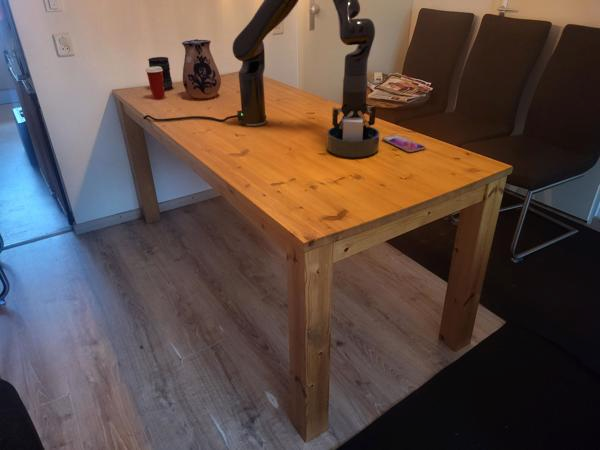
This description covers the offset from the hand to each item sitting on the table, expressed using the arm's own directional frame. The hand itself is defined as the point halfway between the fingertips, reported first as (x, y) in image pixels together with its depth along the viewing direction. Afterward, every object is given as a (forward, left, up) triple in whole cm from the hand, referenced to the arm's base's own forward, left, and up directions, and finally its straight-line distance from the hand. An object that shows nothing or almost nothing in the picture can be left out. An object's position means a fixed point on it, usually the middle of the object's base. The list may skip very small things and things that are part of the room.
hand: (352, 138), depth 150 cm
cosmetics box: (0, 0, -3) cm, 3 cm away
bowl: (0, 0, -4) cm, 4 cm away
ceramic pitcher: (-53, +84, -4) cm, 99 cm away
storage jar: (-74, +103, -4) cm, 127 cm away
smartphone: (+18, +1, -4) cm, 18 cm away
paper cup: (-74, +85, -4) cm, 113 cm away
